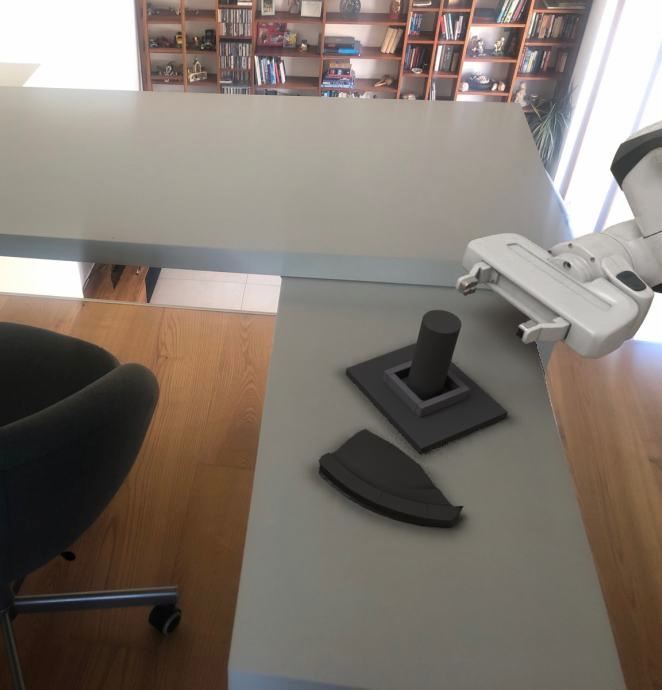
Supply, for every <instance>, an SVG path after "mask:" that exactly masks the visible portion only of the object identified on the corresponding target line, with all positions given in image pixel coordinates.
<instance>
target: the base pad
mask: <svg viewBox="0 0 662 690" xmlns="http://www.w3.org/2000/svg"><path fill="white" fill-rule="evenodd" d="M416 343H417V342H415V343H412V344H409V345H406V346H404V347H401V348H398V349H395V350H393V351H390V352H387V353H384V354H381V355H379V356H376V357H373V358H371V359H368V360H365V361H363V362H359V363H356V364H354V365H352V366H348V367H346V369H345V375H346V376H347V378H349V380H350V381H351V382H352V384H354V385H355V386H356V387H357V388H358V389H359V390H360V392H362V394H363V395H364V396H365V397H366V398H367V399H368V400H369V401H370V402H371V403H372V404H373V405H374V406H375V408H376V409H377V410H378V411H379V413H381V414H382V415H383V416H384V418H386V420H387V421H388V422H389V423H390V424H391V425H392V426H393V427H394V428H395V429H396V430H397V431H398V433H400V435H401V436H402V437H403V438H404V439H405V440H406V441H407V442H408V443H409V444H410V445H411V446H412V448H413V449H414V451H416V452H417V453H418V454H419V455H421V454H424V453H426V452H429V451H430V450H431V451H432V450H433V449H436V448H438V447H440V446H443V445H445V444H447V443H451V442H452V441H454V440H456V439H459V438H462V437H464V436H466V435H469V434H471V433H473V432H475V431H478V430H480V429H482V428H485V427H487V426H490V425H492V424H494V423H497V422H499V421H501V420H503V419H505V418H507V415H508V411H507V409H505V408H504V407H503V406H502V405H501V404H500V403H499V402H498V401H496V400H495V399H494V398H493V397H492V396H491V395H489V393H487V392H486V391H485V390H484V389H483V388H482V387H481V386H480V385H478V384H477V383H476V382H475V381H474V380H473V379H472V378H471V377H469V376H468V375H467V374H466V373H465V372H464V371H463V370H462V369H461V368H459V367H458V366H457V365H456V364H455V363H454V362H453V361H451V363H450V366H449V370H448V373H447V377H446V380H445V384H444V387H443V390H442V394H441V395H439V396H437V397H434V398H432V399H429V400H421V399H419V398H418V397H417V396H416V395H415V394H414V393H413V392H412V391H411V390H410V389H409V388H408V387H407V386H406V385H407V380H408V376H409V372H410V368H411V364H412V360H413V355H414V351H415V347H416Z"/></svg>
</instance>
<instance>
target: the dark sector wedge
mask: <svg viewBox="0 0 662 690" xmlns="http://www.w3.org/2000/svg"><path fill="white" fill-rule="evenodd" d="M318 463H319V468H318V474H319V475H320V476H321V478H322V479H324V480H325V481H326V482H327V483H328V484H329V485H331V486H332V487H333V488H334V489H335V490H336V491H338V492H339V493H341V494H342V495H343V496H345V497H346V498H347V499H349V500H351V501H352V502H354V503H355V504H358V505H359V506H361V507H363V508H365V509H367V510H369V511H372V512H374V513H376V514H379V515H381V516H385V517H387V518H391V519H393V520H396V521H401V522H405V523H410V524H415V525H419V526H420V525H421V526H430V527H445V528H448V527H449V528H451V527H453V526H455V525H456V524H457V523H458V520H459V516H460V515H461V512H462V510H463V508H464V507H465V506H464V505H453V504H452V503H451V502H450V501H449V500H448V499H447V497H446V496H445V495H444V494H443V493H442V491H441V489H439V487H437V486H436V485H435V484H434V482H433V481H432V479H431V478H430V477H429V475H428V474H427V473H426V471H425V470H424V468H423V467H422V466H421V465H420V463H417V461H416V460H415V459H413V458H412V457H410V456H409V455H408V454H407V453H406V452H405V451H403V450H401V448H399V447H397V446H396V445H395V444H393V443H392V442H390V441H388V440H387V439H385V438H382V436H379V435H377V434H375V433H373V432H372V431H370V430H369V429H367V428H364V429H362V430H359V431H358V432H356V433H355V434H353V435H352V436H351V437H349V438H348V439H347V440H346V441H344V443H342V445H340V447H339V448H337V449H336V450H335V451H333V452H327V453H325V454H323V455H321V457H319V459H318Z"/></svg>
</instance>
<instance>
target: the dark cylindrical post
mask: <svg viewBox="0 0 662 690" xmlns="http://www.w3.org/2000/svg"><path fill="white" fill-rule="evenodd" d="M461 329H462V321H461V320H460V318H459V316H457V315H456V314H454V313H452V312H450V311H448V310H445V309H444V310H443V309H432V310H429V311H426V312H425V313H424V314H423V316H422V320H421V323H420V327H419V331H418V336H417V340H416V342H415V343H416V347H415V351H414V355H413V360H412V364H411V368H410V372H409V376H408V380H407V385H406V386H407V387H408V388H409V389H410V390H411V391H412V392H413V393H414V394H415V395H416V396H417V397H418V398H419V399H421V400H429V399H432V398H434V397H437V396H439V395H441V394H442V390H443V387H444V384H445V380H446V377H447V373H448V370H449V366H450V363H451V362H452V360H453V357H454V353H455V349H456V346H457V342H458V339H459V335H460V332H461Z"/></svg>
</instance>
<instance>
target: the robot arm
mask: <svg viewBox="0 0 662 690" xmlns="http://www.w3.org/2000/svg"><path fill="white" fill-rule="evenodd" d="M609 171H610V172H611V174H612V176H613V178H614V180H615V182H616V183H617V186H618V187H619V189H620V191H621V192H622V193H623V195H624V197H625V200H626V201H627V204H628V207H629V208H630V211H631V213H632V215H633V217H634V218H631V219H627V220H625V221H621V222H618V223H614V224H613V225H610V226H607V227H606V228H605V229H603V230H602V231H594V232H590V233H587V234H583V235H581V236H578V237H575V238H572V239H569V240H566V241H563V242H560V243H557V244H555V245H554V246H552V247H551V248H549V250H545V249H544V248H542V247H540V246H539V245H537V244H536V243H534V242H533V241H531V240H530V239H529V238H527V237H525V236H523V235H521V234H519V233H513V232H506V233H505V232H504V233H503V232H502V233H497V234H492V235H488V236H483V237H479V238H475V239H472V240H471V241H469V242H468V244H467V246H466V247H465V251H464V255H463V260H462V268H463V269H464V270H465V271H466V272H467V273H468V274H466V275H463V276H460V277H458V279H457V280H456V284H455V290H456V291H457V292H459V293H460V294H461V295H463V296H464V297H466V296H468V295H472V294H474V293H476V291H477V286H478V285H481V284H484V285H485V286H486V287H488V288H489V289H490V290H492V291H493V292H495V293H496V294H497V295H499V296H500V297H501V298H503V299H504V301H507V302H508V303H509V304H510V305H512V307H514V308H516V309H517V310H518V311H520V312H521V313H522V314H524V315H525V316H526V317H528V318H530V319H529V320H526V321H525V322H522V323H520V324H519V325H518V326H517V328H516V332H515V334H514V335H515V337H516V338H518V339H519V340H520V341H522V343H524V344H525V345H527V344H531V343H532V342H535V341H539V342H551V343H558V342H561V343H563V344H564V345H566V346H567V347H568V348H570V349H571V350H572V351H574V352H575V353H576V354H578V355H579V356H580V357H581V358H585V359H591V360H598V359H601V358H604V357H606V356H608V355H609V354H611V353H613V352H616V351H617V350H618V349H620V348H621V347H622V346H623V345H624V343H625V341H629V340H631V339H633V338H634V336H636V334H637V333H638V331H639V329H640V328H641V326H642V325H643V323H644V322H645V320H646V317H647V315H648V314H649V311H650V309H651V307H652V304H653V301H654V297H655V293H656V294H662V119H661V120H658V121H656V122H653V123H651V124H649V125H647V126H644V127H642V128H641V129H639V130H637V131H635V132H634V133H632V134H631V135H630V136H628V137H627V138H626V139H625V141H623V142H621V143H620V144H619V146H618V147H617V149H616V151H615V153H614V156H613V159H612V162H611V164H610V168H609Z"/></svg>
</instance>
